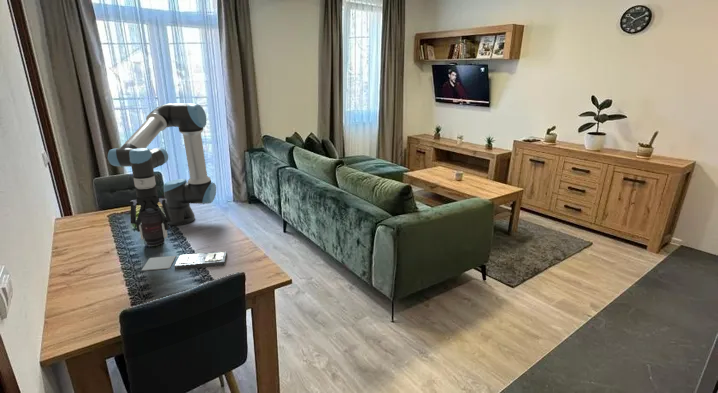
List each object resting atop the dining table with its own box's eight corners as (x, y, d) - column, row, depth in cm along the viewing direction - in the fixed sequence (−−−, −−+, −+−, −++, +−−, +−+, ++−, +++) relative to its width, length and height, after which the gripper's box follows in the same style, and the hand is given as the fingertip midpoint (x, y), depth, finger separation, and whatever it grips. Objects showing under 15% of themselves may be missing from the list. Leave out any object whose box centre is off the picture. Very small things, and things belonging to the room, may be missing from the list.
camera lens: (157, 247, 155) (151, 213, 150) (140, 245, 156) (134, 212, 152) (170, 239, 162) (165, 207, 158) (154, 237, 164) (148, 205, 159)
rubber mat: (149, 258, 167) (149, 257, 167) (176, 256, 169) (176, 255, 169) (141, 271, 157) (141, 270, 157) (169, 268, 159) (169, 267, 159)
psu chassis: (180, 258, 167) (179, 254, 166) (227, 255, 171) (226, 250, 170) (174, 269, 158) (174, 264, 157) (224, 265, 162) (223, 260, 161)
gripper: (113, 190, 146) (124, 243, 153) (170, 188, 150) (178, 239, 157) (121, 185, 153) (131, 235, 160) (175, 182, 157) (182, 232, 164)
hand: (154, 237), depth 159 cm, fingers closed on camera lens, 8 cm apart
